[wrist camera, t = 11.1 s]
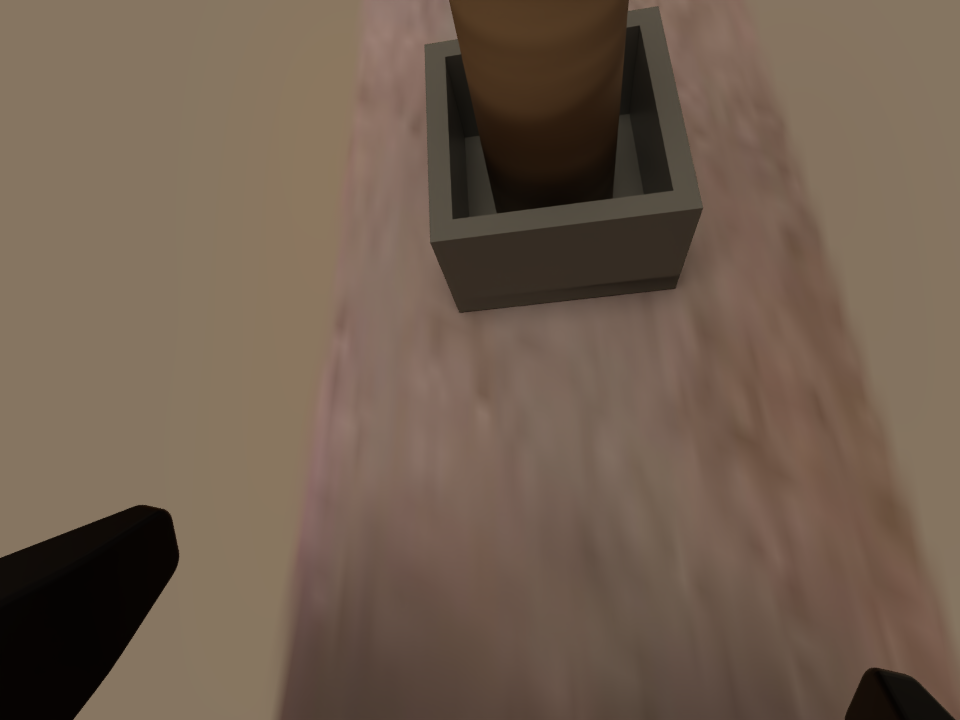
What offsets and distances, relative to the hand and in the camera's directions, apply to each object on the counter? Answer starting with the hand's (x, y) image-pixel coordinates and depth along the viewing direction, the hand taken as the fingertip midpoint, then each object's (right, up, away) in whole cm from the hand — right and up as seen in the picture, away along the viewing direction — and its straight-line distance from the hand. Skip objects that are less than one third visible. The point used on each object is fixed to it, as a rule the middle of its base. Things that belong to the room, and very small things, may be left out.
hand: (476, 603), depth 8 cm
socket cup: (+3, +9, +16) cm, 18 cm away
